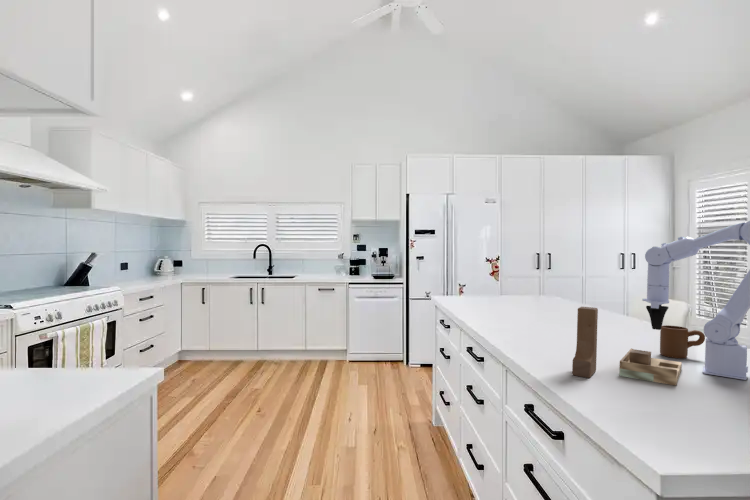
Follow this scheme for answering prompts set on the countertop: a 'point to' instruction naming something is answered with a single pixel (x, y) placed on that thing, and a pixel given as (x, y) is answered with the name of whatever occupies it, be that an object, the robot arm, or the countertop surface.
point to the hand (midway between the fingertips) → (656, 329)
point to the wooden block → (586, 342)
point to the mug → (677, 341)
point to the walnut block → (640, 357)
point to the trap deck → (651, 370)
